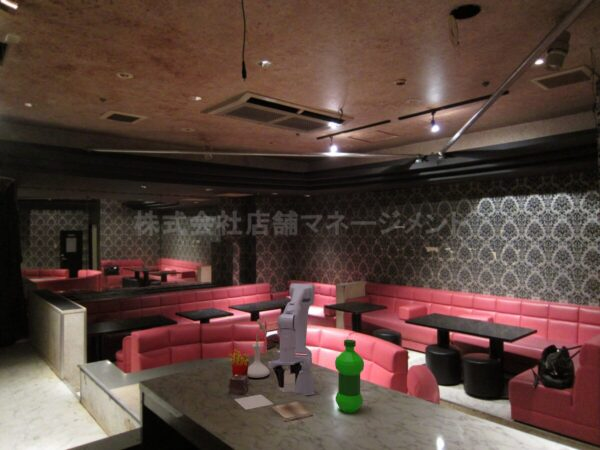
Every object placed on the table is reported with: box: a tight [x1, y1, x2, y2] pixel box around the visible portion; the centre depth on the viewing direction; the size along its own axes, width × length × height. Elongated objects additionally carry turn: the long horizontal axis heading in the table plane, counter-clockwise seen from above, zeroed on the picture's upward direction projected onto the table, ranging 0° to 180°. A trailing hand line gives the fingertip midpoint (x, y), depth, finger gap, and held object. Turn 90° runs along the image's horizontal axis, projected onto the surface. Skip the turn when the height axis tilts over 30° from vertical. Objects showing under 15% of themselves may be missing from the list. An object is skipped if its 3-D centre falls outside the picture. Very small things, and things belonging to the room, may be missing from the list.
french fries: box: [228, 349, 250, 377], centre depth 176 cm, size 9×8×15 cm
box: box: [229, 375, 249, 396], centre depth 167 cm, size 6×6×7 cm
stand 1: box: [234, 394, 274, 410], centre depth 157 cm, size 11×11×2 cm
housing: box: [278, 370, 295, 393], centre depth 151 cm, size 4×4×6 cm
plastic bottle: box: [334, 339, 365, 414], centre depth 154 cm, size 10×10×25 cm
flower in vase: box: [247, 319, 270, 379], centre depth 193 cm, size 13×11×25 cm
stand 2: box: [271, 401, 314, 424], centre depth 150 cm, size 11×11×2 cm
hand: (286, 385), depth 151 cm, fingers closed on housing, 4 cm apart
